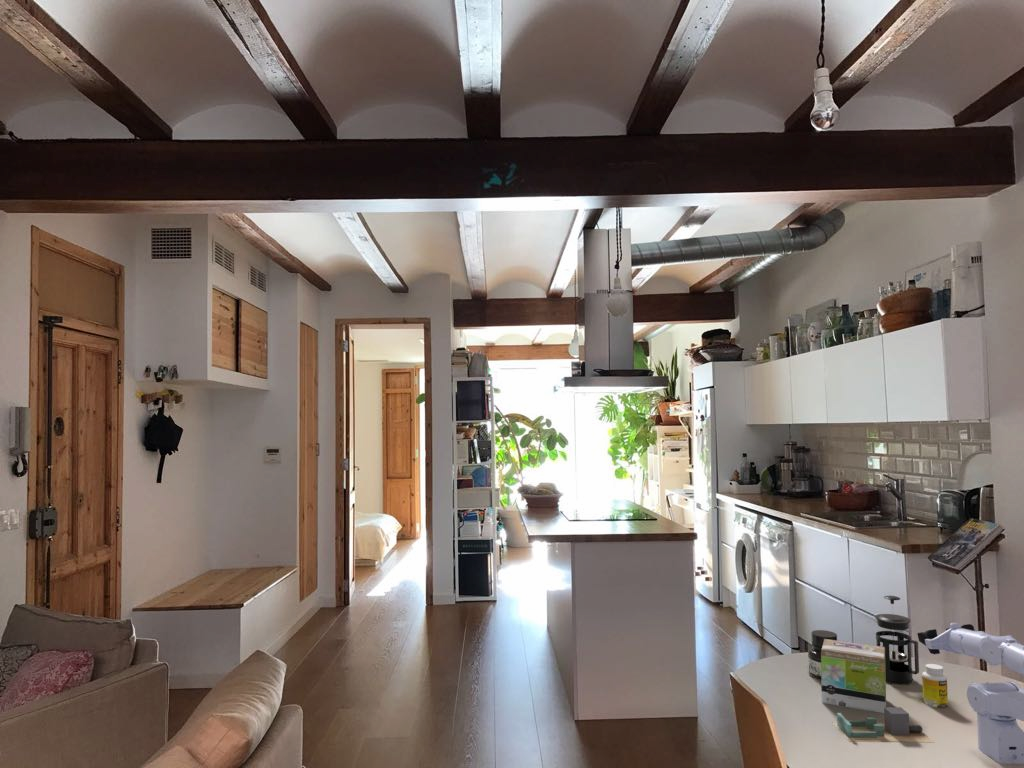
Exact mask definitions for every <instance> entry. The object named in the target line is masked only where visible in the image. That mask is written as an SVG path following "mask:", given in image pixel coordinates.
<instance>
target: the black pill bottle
mask: <svg viewBox="0 0 1024 768" xmlns="http://www.w3.org/2000/svg"><path fill="white" fill-rule="evenodd" d="M810 634H811V647H810V648H809V649H808V651H807V666H808V667H807V668H808V669H807V670H808V674H809V675H810V676H811V675H812V676H811V677H813V678H815V679H818V680H821V649H822V646H823V642H824V639H829V640H836V641H838V634H837V633H836V632H833V631H831V630H830V631H829V630H825V629H823V630H822V629H815V630H813V631H811V633H810Z"/></svg>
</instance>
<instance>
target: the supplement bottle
mask: <svg viewBox="0 0 1024 768" xmlns="http://www.w3.org/2000/svg"><path fill="white" fill-rule="evenodd" d="M921 674H922V675H921V676H922V677H921V680H922V681H921V683H922V703H923V704H925V705H927V706H929V707H932V708H937V709H944V708H947V707H948V706H949V702H948V697H949V696H948V695H949V694H948V677H947V675H946V674H945V673H944V667H943V666H942V665H941V664H940V665H939V664H935V663H928V664H925V671H923V672H922V673H921Z"/></svg>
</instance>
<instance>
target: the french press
mask: <svg viewBox="0 0 1024 768" xmlns="http://www.w3.org/2000/svg"><path fill="white" fill-rule="evenodd" d="M883 598H884V599H886V600H889V601H890V604H891V613H880V614H876V615H875V616H874V618H875V620H876V622H877V625H878V627H880V628H883V629H886V630H879V631H877V632H875V639H876V646H879V647H881V643H882V647H885V668H886V683H889V682H890V683H889V684H894V685H909V684H910V685H911V684H912V683H913V682H914V677H913V675H917V674H919V673H920V664H919V663H920V661H919V642H918V640H913V639H912V637H911V635H909V634H907V633H904V632H900V631H906V630H909V629H910V623H911V622H912V621H911V619H910V618H909V617H906V616H903V615H899V614H894V604H895V601H900V600H901V598H900V597H898V596H895V595H885V596H884V597H883ZM882 636H883V637H882ZM884 636H887V637H889V636H890V637H891V636H892V639H889V638H884ZM895 637H897V639H895ZM912 644H914V645H913V647H914V670H913V666H912ZM890 645H892V650H890ZM895 646H897V651H896V650H895ZM905 646H907V653H906V652H905Z"/></svg>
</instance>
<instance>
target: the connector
mask: <svg viewBox="0 0 1024 768" xmlns="http://www.w3.org/2000/svg"><path fill="white" fill-rule="evenodd" d="M883 716H884V723H885V729H886V730H887V731H888V732H889V733H890V734H891V735H894V736H910V735H909V733H921V732H923V730H924V729H923V727H922V726H921V725H919V724H914V725H909V723H910V714H909V713H908V712H907V710H905V709H904V708H902V707H900V706H899V707H893V706H891V707H890V706H889V707H884V713H883Z"/></svg>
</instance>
